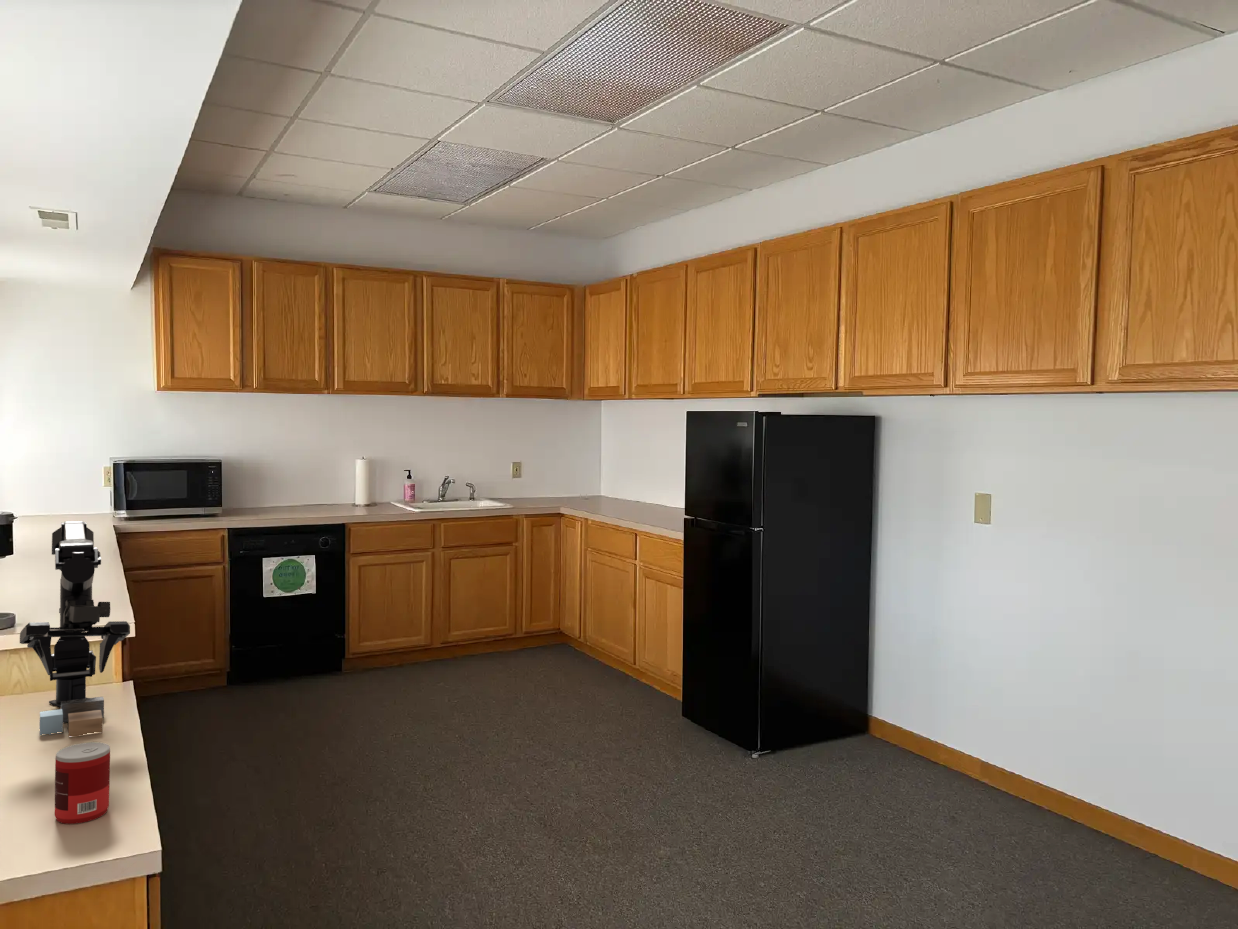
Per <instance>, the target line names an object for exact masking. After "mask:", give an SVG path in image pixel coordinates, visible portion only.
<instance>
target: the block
mask: <svg viewBox="0 0 1238 929" xmlns="http://www.w3.org/2000/svg"><path fill="white" fill-rule="evenodd" d="M63 725H64V723H63V712H62V709H61V708H60V709H52V710H44V711H39V729H40V731H39V736H40V735H42V734H49V735H52V734H51V733H57V732H63V729H64V728H63V727H64V726H63ZM57 734H58V733H57ZM42 736H43V735H42Z"/></svg>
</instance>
